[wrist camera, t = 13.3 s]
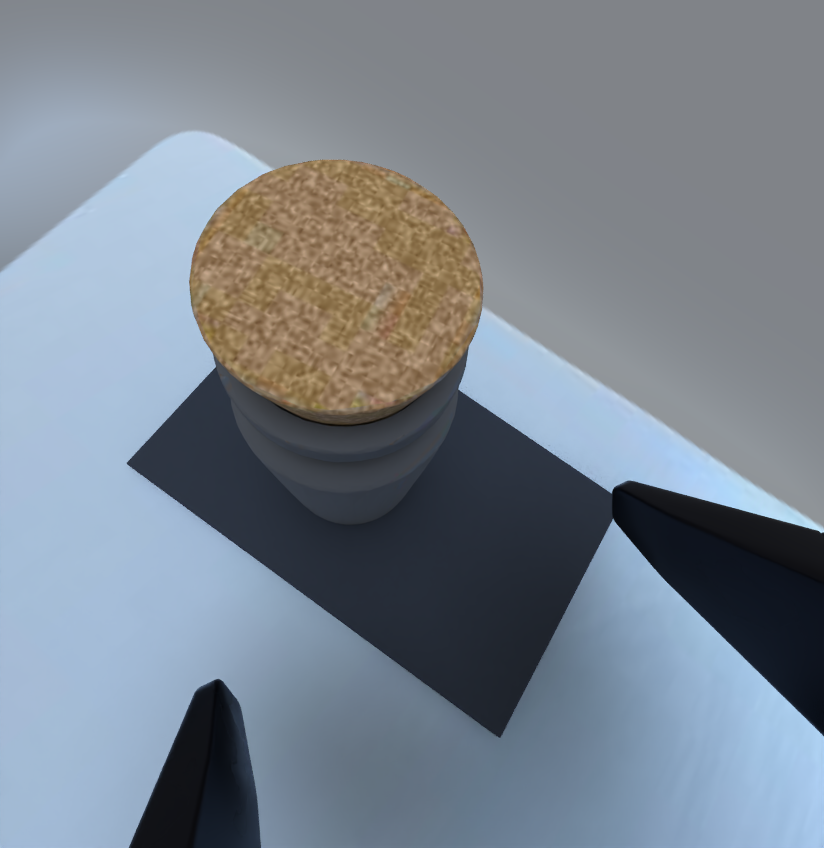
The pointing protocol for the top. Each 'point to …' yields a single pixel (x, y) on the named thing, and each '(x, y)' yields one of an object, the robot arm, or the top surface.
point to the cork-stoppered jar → (339, 327)
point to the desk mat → (410, 544)
